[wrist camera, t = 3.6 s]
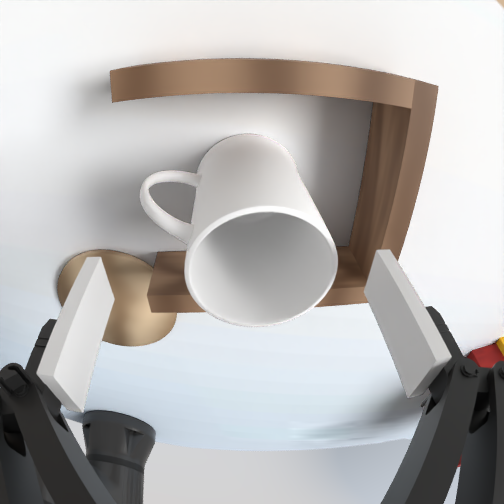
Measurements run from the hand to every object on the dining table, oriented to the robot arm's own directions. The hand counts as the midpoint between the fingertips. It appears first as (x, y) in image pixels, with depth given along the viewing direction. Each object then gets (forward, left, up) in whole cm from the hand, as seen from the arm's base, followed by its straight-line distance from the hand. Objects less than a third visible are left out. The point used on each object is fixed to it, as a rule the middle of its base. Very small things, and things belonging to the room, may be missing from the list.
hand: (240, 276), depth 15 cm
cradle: (+3, 0, -13) cm, 13 cm away
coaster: (-13, -14, -13) cm, 23 cm away
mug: (0, 0, -13) cm, 13 cm away
